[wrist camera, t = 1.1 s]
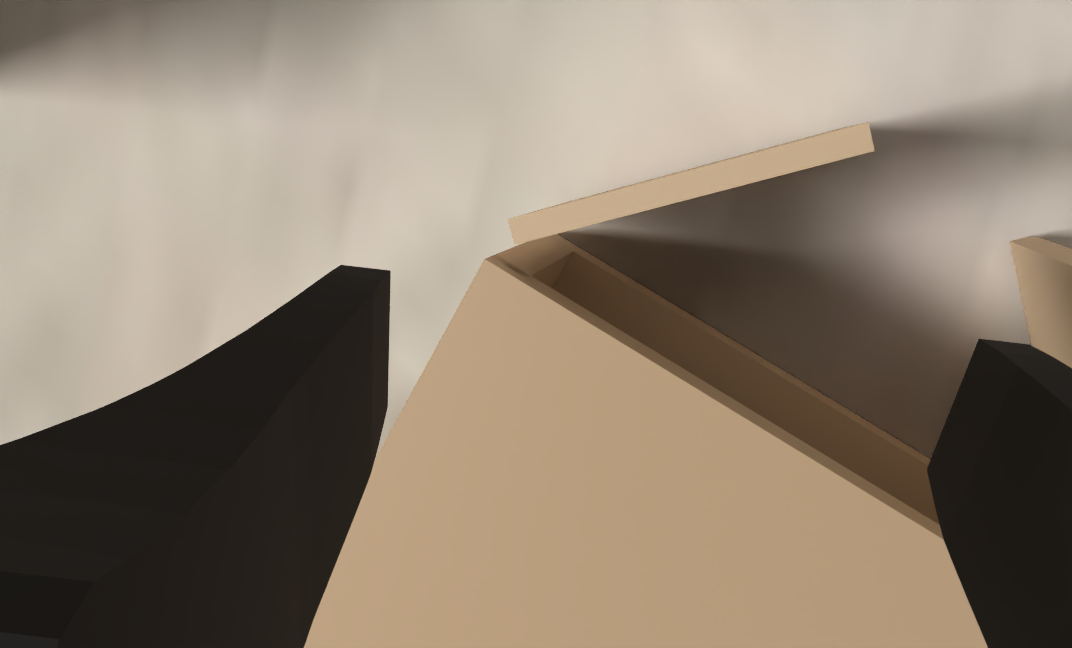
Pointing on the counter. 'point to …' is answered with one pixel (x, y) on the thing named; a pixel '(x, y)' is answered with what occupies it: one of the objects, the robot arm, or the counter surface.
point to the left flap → (694, 182)
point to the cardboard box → (631, 490)
